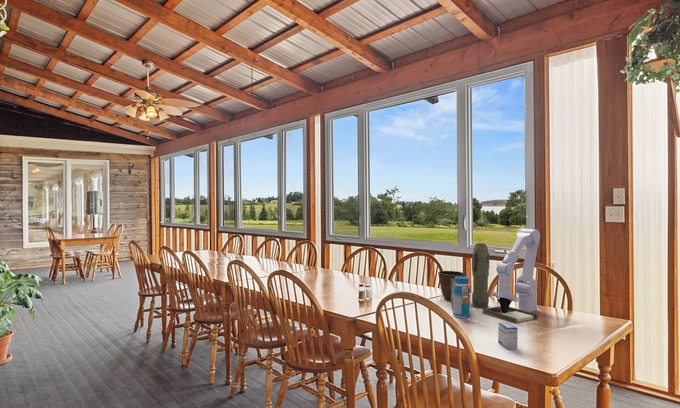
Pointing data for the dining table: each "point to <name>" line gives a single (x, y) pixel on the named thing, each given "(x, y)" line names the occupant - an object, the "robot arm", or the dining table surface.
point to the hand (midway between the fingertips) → (504, 313)
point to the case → (498, 314)
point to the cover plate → (519, 316)
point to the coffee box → (452, 291)
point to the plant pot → (447, 282)
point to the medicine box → (507, 335)
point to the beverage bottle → (461, 297)
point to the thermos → (480, 276)
